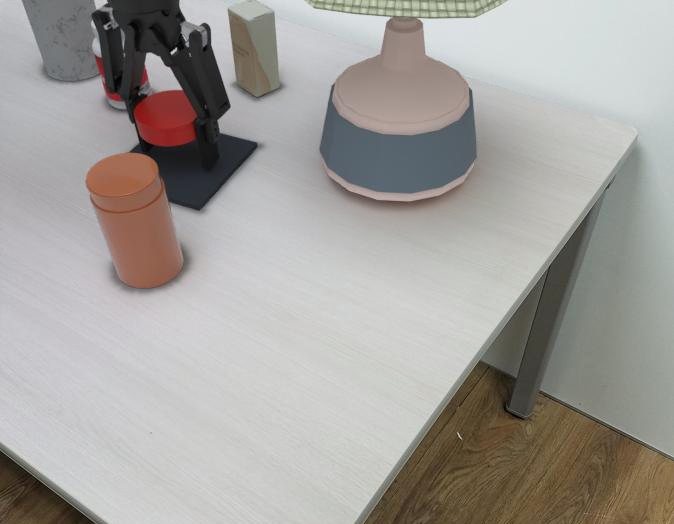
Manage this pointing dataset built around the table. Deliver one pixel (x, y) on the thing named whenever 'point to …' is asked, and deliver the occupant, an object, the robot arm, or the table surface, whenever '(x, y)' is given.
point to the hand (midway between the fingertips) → (180, 154)
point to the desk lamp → (401, 108)
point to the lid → (166, 118)
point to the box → (254, 46)
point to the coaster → (197, 168)
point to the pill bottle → (115, 98)
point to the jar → (135, 219)
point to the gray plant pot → (64, 36)
